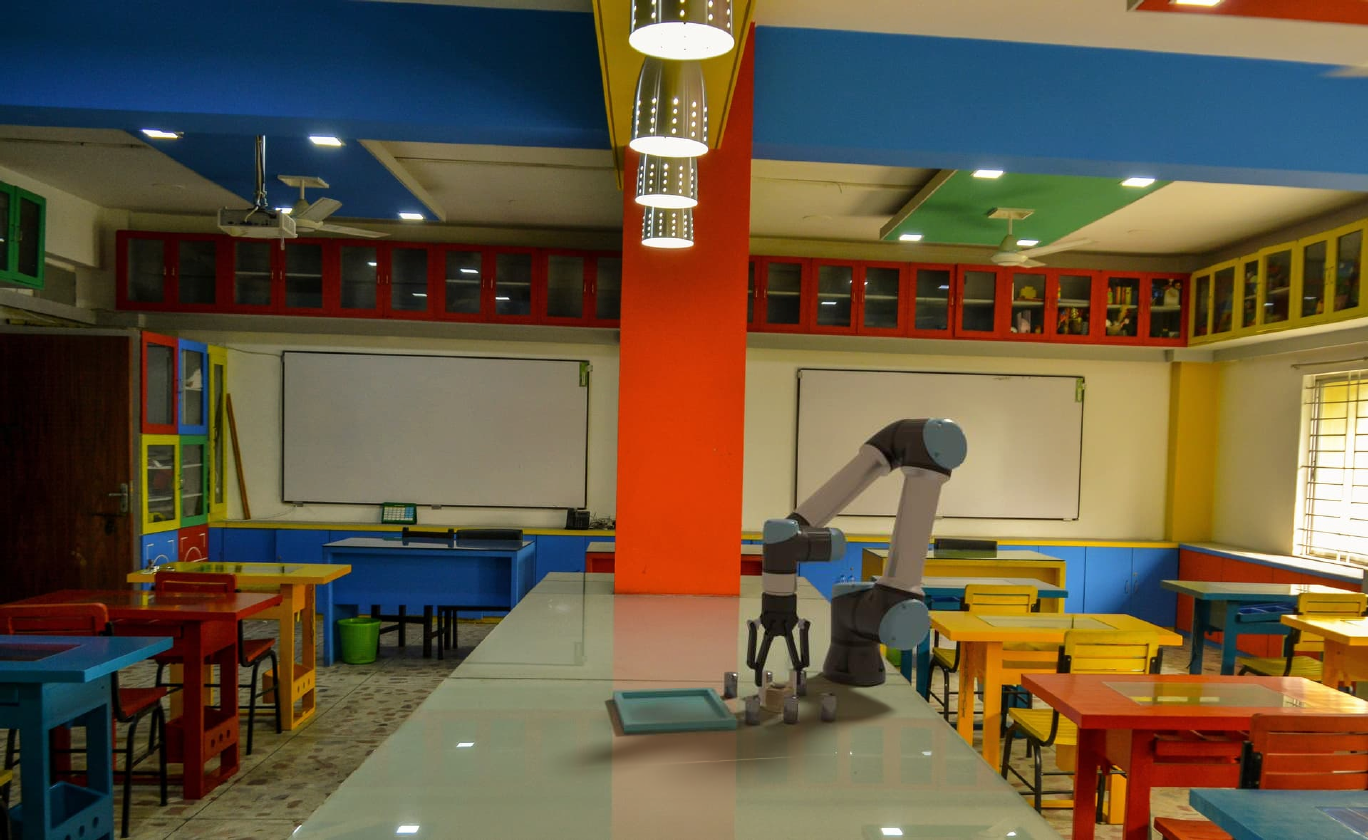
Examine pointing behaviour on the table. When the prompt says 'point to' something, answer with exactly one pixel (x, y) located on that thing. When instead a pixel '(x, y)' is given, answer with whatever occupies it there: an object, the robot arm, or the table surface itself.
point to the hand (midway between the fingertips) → (777, 700)
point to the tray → (672, 710)
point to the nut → (776, 696)
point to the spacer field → (788, 701)
